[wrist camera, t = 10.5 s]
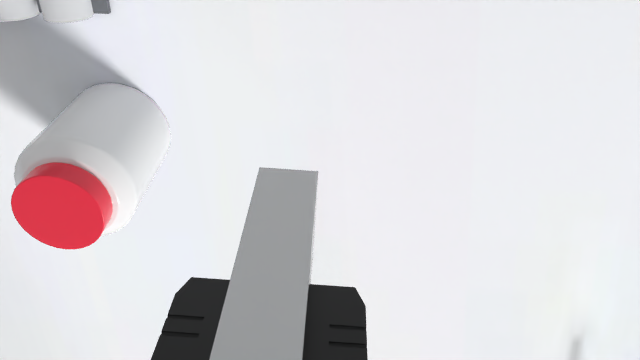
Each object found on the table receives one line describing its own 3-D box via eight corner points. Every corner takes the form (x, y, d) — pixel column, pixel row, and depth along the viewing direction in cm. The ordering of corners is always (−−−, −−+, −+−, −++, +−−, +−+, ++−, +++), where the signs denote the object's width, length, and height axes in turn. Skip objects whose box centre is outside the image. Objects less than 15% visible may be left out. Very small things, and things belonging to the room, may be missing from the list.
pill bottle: (142, 69, 39) (79, 143, 29) (188, 158, 43) (145, 248, 33) (50, 98, 40) (-38, 177, 31) (102, 182, 44) (39, 274, 35)
